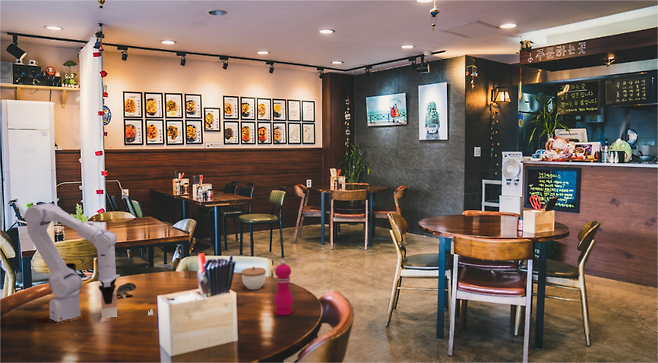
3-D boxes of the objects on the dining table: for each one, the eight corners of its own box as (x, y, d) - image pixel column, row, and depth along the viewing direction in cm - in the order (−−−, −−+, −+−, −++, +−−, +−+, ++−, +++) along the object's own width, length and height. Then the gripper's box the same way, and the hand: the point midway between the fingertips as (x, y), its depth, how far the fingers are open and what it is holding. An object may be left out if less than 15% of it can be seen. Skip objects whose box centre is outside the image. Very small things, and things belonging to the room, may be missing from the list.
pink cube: (101, 308, 167) (101, 295, 167) (102, 304, 171) (101, 291, 171) (116, 306, 169) (116, 293, 169) (117, 302, 174) (116, 289, 173)
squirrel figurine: (122, 300, 186) (140, 290, 194) (112, 286, 187) (131, 276, 194) (114, 307, 190) (132, 297, 198) (104, 293, 191) (123, 283, 199)
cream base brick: (101, 319, 167) (101, 308, 167) (102, 315, 172) (101, 304, 171) (116, 317, 169) (116, 306, 169) (117, 313, 174) (116, 302, 174)
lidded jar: (239, 286, 207) (238, 265, 207) (262, 282, 212) (261, 262, 211) (245, 292, 198) (244, 271, 197) (269, 289, 202) (268, 268, 202)
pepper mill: (290, 316, 169) (289, 263, 167) (271, 315, 170) (270, 262, 169) (295, 309, 176) (294, 258, 174) (277, 308, 177) (276, 257, 176)
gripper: (118, 268, 164) (120, 305, 165) (119, 259, 177) (120, 293, 178) (96, 270, 161) (98, 308, 162) (98, 261, 174) (100, 296, 175)
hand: (108, 300), depth 170 cm, fingers open, 7 cm apart
